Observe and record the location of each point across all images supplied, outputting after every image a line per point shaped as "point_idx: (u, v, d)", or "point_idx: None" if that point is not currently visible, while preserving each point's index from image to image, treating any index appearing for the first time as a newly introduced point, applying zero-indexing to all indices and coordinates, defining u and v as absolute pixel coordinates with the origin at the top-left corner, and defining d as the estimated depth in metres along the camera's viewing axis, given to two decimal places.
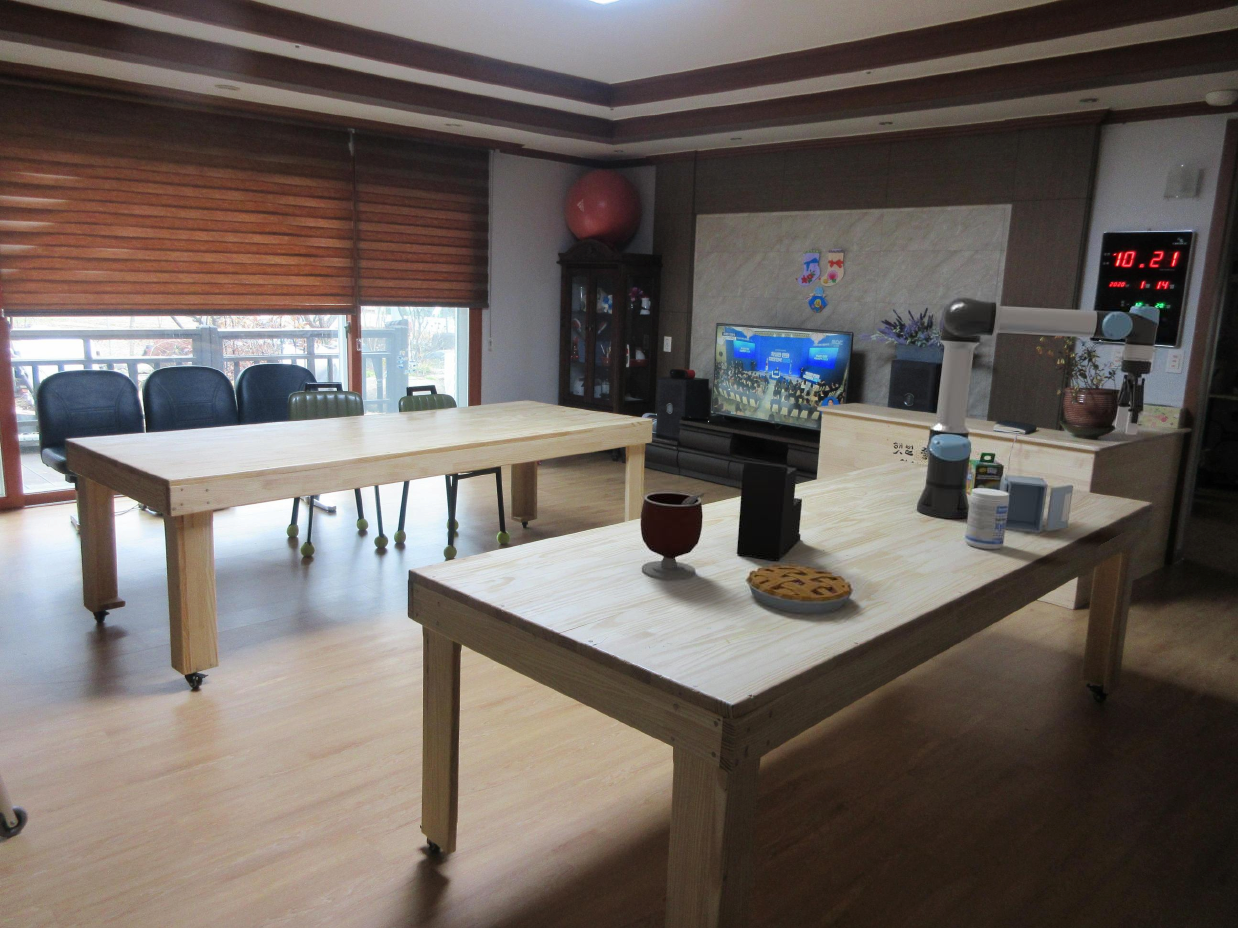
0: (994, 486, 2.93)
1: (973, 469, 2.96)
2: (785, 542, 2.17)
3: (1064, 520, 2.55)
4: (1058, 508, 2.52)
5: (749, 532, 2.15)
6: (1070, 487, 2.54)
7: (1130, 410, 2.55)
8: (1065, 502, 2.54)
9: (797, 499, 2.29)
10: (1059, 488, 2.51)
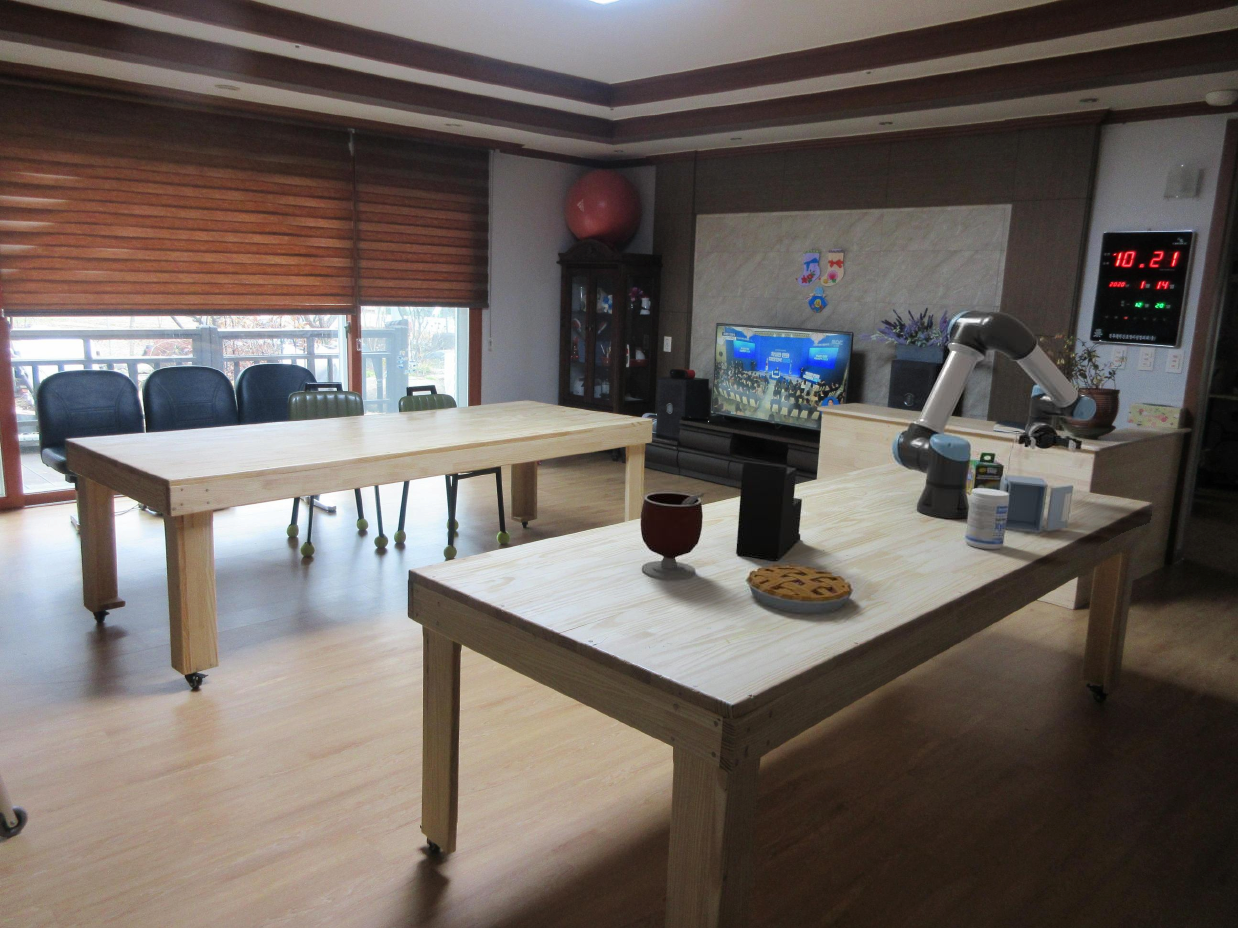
0: (994, 486, 2.93)
1: (973, 469, 2.96)
2: (784, 542, 2.18)
3: (1064, 520, 2.55)
4: (1058, 508, 2.52)
5: (748, 532, 2.15)
6: (1070, 487, 2.54)
7: (1075, 440, 2.72)
8: (1065, 502, 2.54)
9: (797, 499, 2.29)
10: (1059, 488, 2.51)
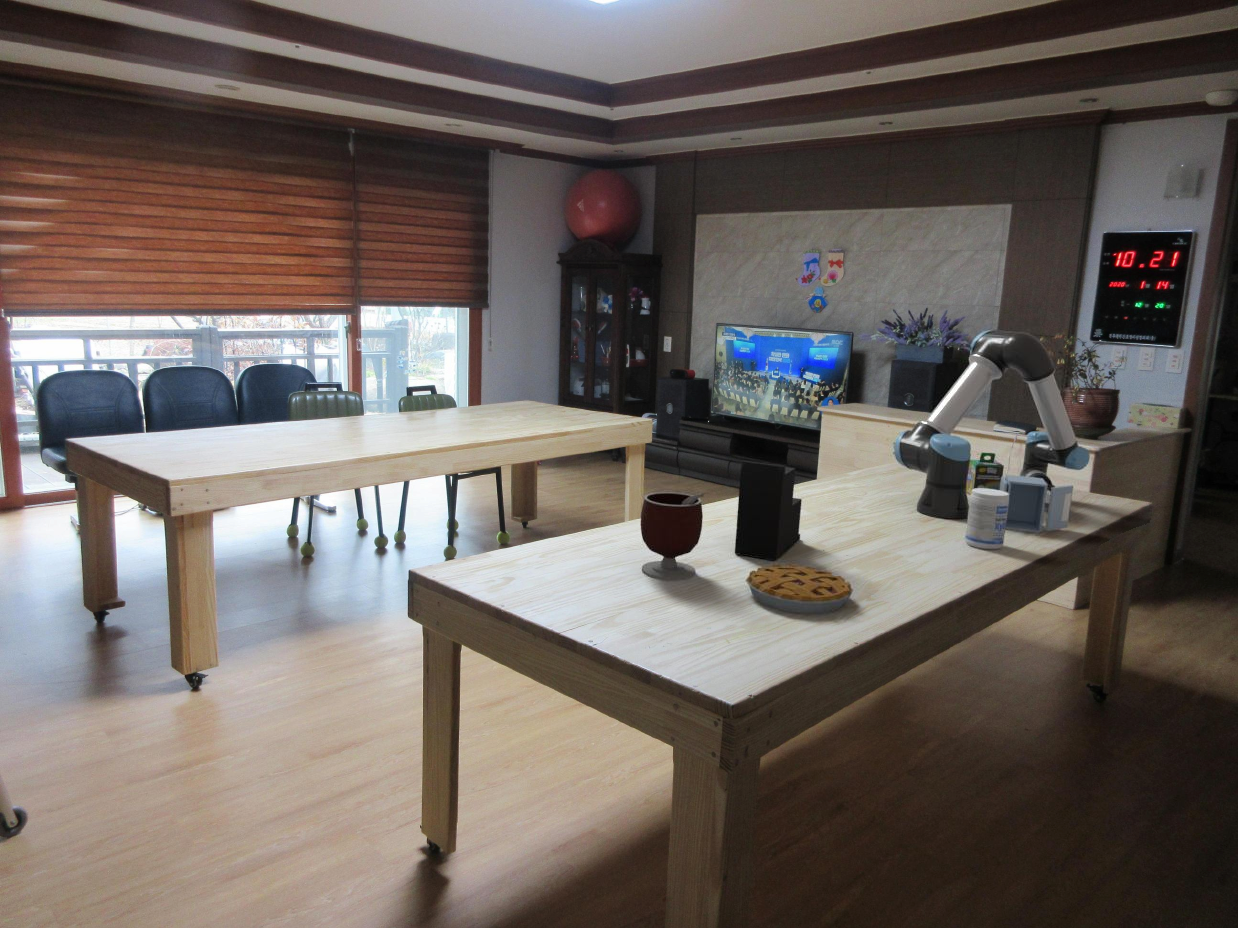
0: (994, 486, 2.93)
1: (973, 469, 2.96)
2: (783, 542, 2.18)
3: (1064, 520, 2.55)
4: (1058, 508, 2.52)
5: (747, 532, 2.15)
6: (1070, 487, 2.54)
7: None
8: (1065, 502, 2.54)
9: (796, 499, 2.29)
10: (1059, 488, 2.51)
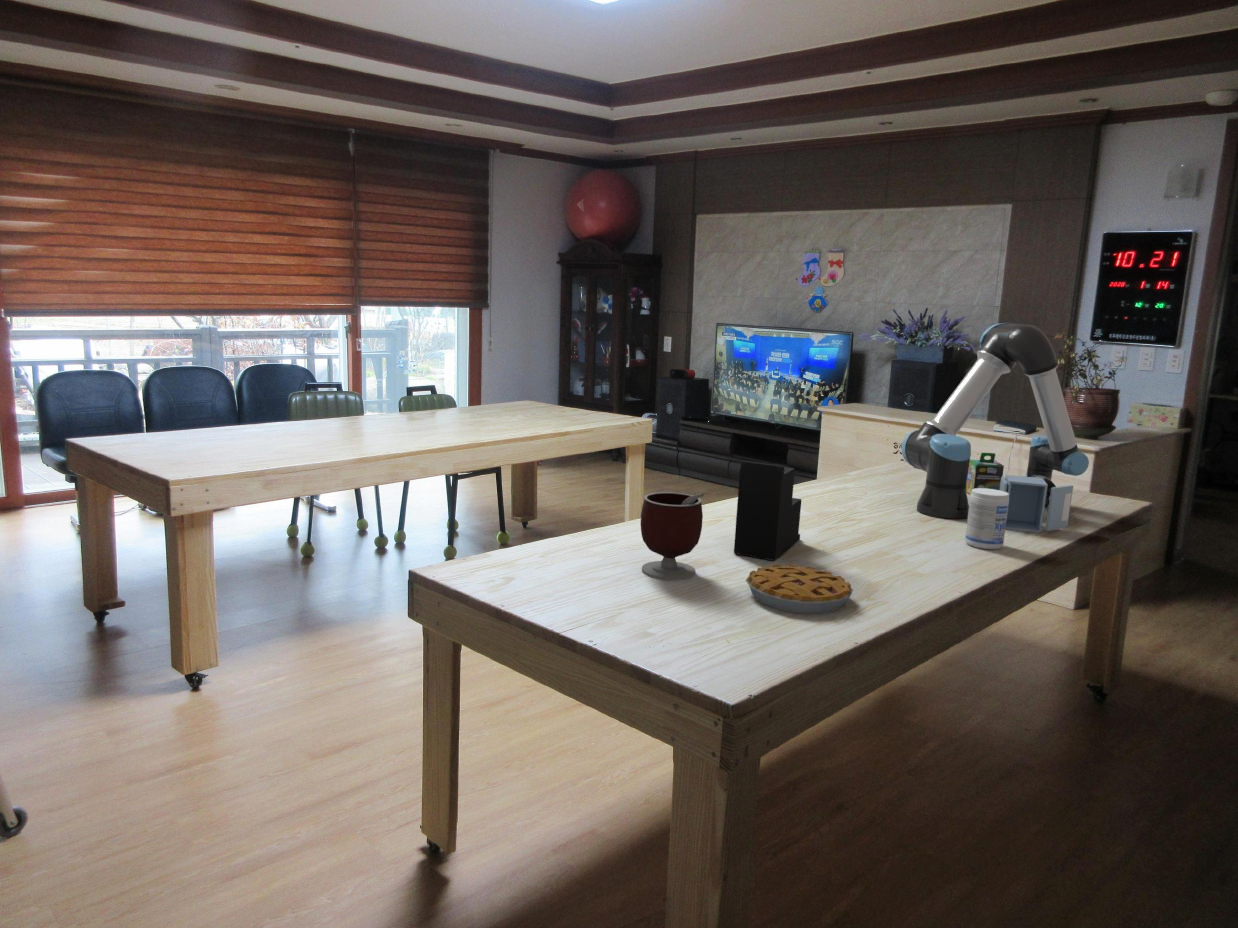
0: (994, 486, 2.93)
1: (973, 469, 2.96)
2: (782, 542, 2.18)
3: (1064, 520, 2.55)
4: (1058, 508, 2.52)
5: (746, 531, 2.15)
6: (1070, 487, 2.54)
7: None
8: (1065, 502, 2.54)
9: (796, 499, 2.29)
10: (1059, 488, 2.51)
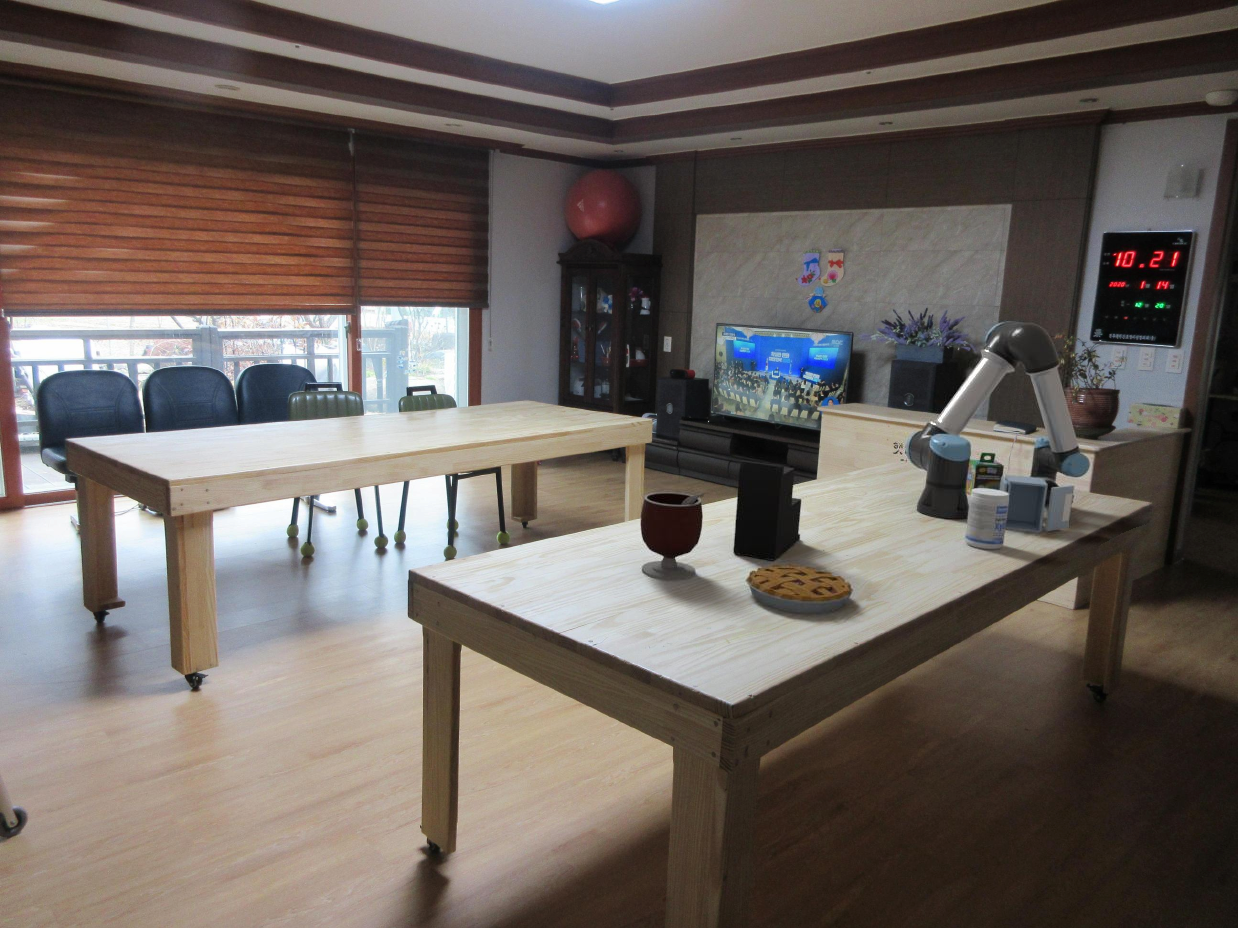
0: (994, 486, 2.93)
1: (973, 469, 2.96)
2: (782, 542, 2.18)
3: (1065, 520, 2.55)
4: (1058, 508, 2.52)
5: (745, 531, 2.15)
6: (1071, 487, 2.53)
7: None
8: (1065, 502, 2.54)
9: (796, 499, 2.29)
10: (1059, 488, 2.51)
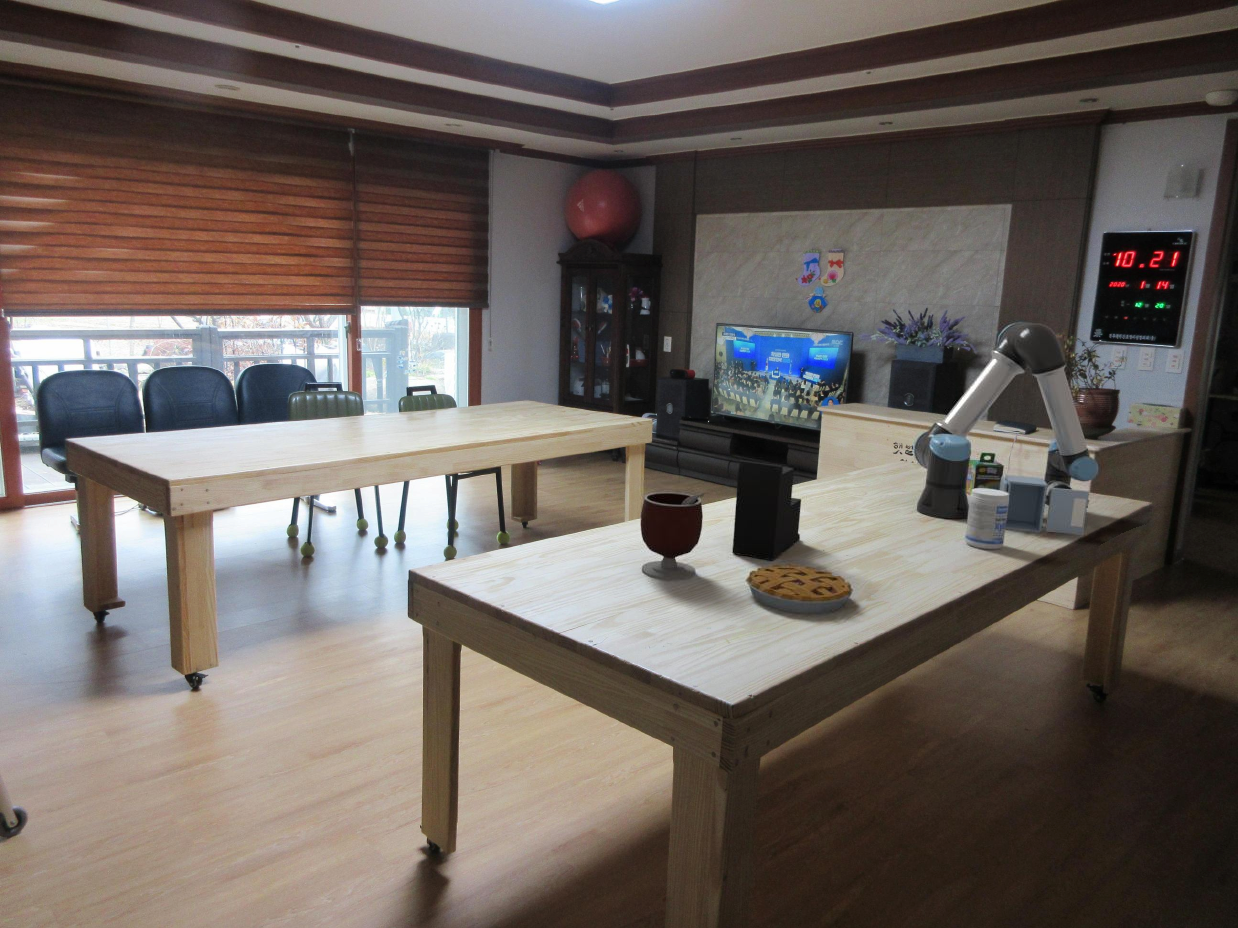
0: (994, 486, 2.93)
1: (973, 469, 2.96)
2: (781, 542, 2.18)
3: (1076, 525, 2.49)
4: (1062, 510, 2.49)
5: (744, 531, 2.16)
6: (1083, 492, 2.47)
7: None
8: (1075, 506, 2.48)
9: (796, 499, 2.29)
10: (1062, 490, 2.48)
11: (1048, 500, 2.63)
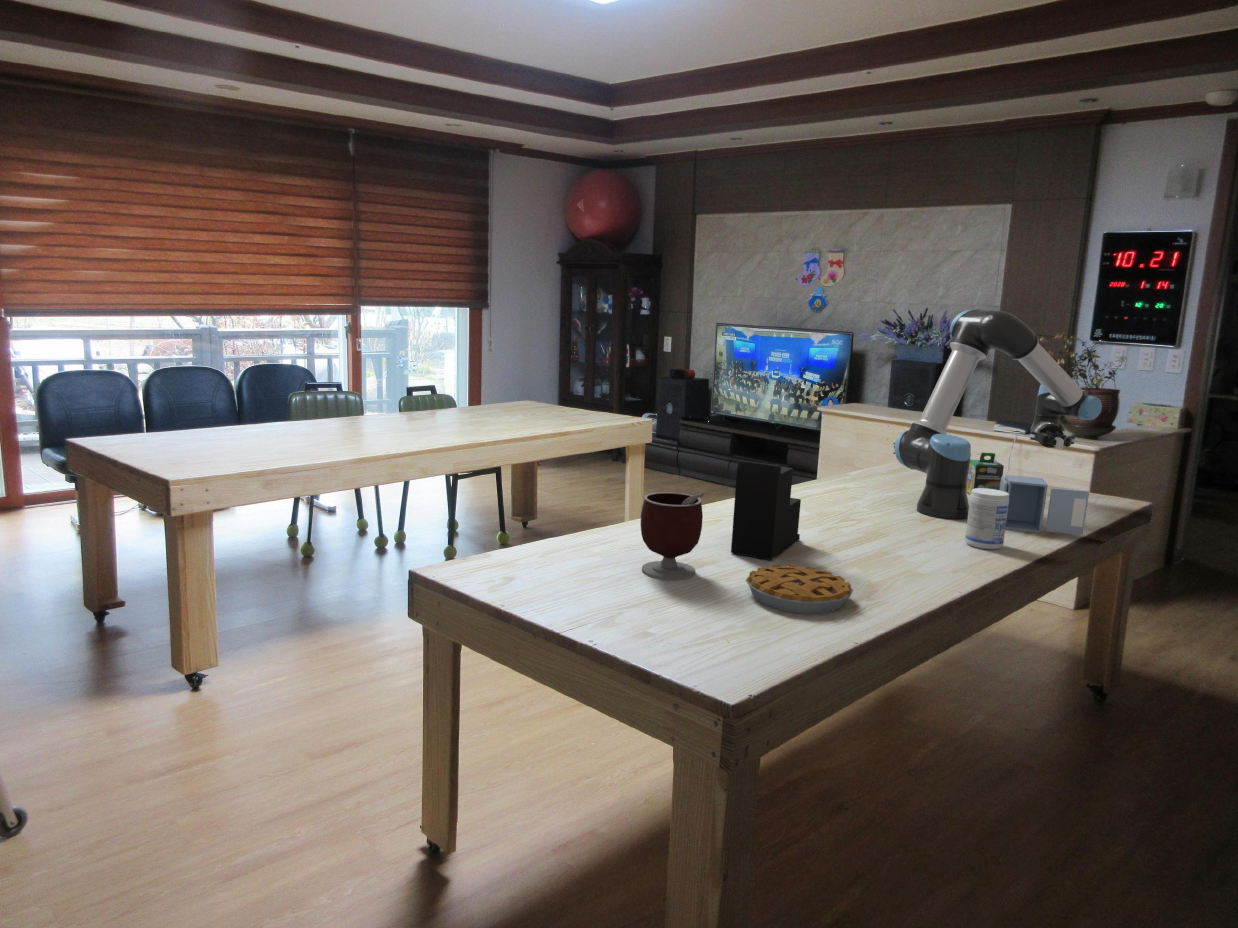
0: (994, 486, 2.93)
1: (973, 469, 2.96)
2: (780, 542, 2.18)
3: (1076, 525, 2.49)
4: (1062, 510, 2.49)
5: (743, 531, 2.16)
6: (1083, 492, 2.47)
7: (1063, 437, 2.69)
8: (1075, 506, 2.48)
9: (795, 499, 2.29)
10: (1062, 490, 2.48)
11: (1036, 436, 2.77)
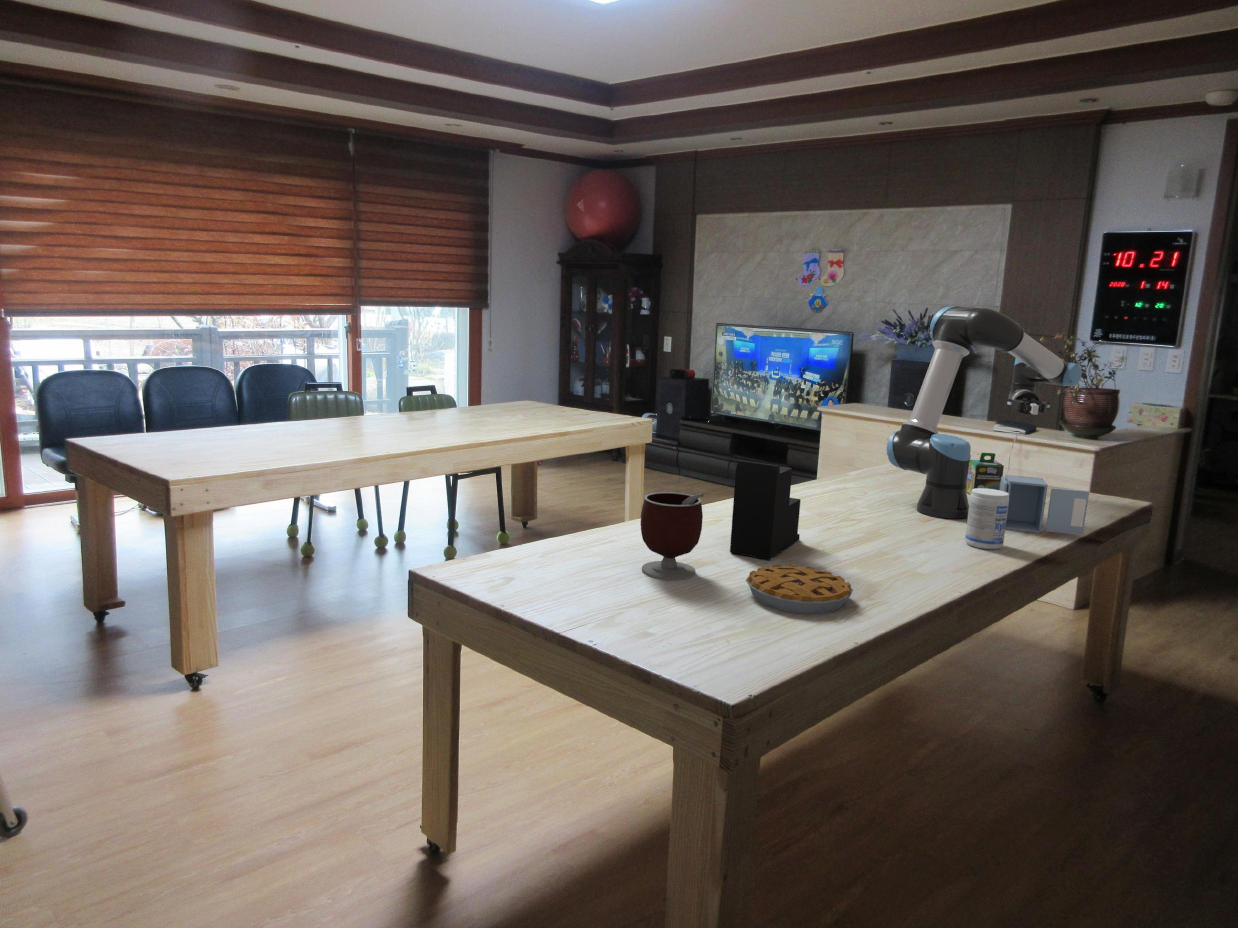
0: (994, 486, 2.93)
1: (973, 469, 2.96)
2: (779, 541, 2.18)
3: (1076, 525, 2.49)
4: (1062, 510, 2.49)
5: (742, 531, 2.16)
6: (1083, 492, 2.47)
7: (1038, 403, 2.77)
8: (1075, 506, 2.48)
9: (795, 499, 2.29)
10: (1062, 490, 2.48)
11: (1013, 403, 2.85)
